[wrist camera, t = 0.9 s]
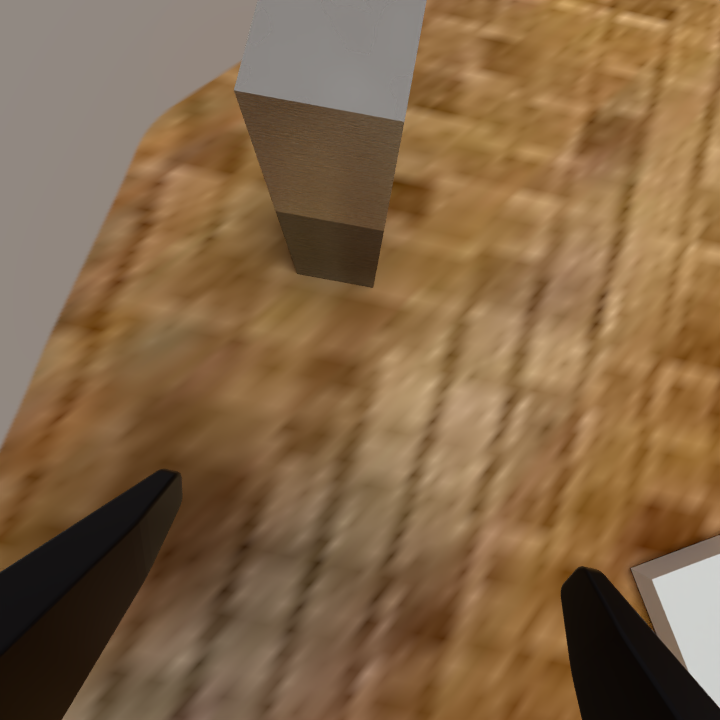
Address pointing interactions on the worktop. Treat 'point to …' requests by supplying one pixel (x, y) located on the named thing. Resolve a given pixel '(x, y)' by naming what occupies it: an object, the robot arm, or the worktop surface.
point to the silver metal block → (330, 122)
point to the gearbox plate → (687, 608)
